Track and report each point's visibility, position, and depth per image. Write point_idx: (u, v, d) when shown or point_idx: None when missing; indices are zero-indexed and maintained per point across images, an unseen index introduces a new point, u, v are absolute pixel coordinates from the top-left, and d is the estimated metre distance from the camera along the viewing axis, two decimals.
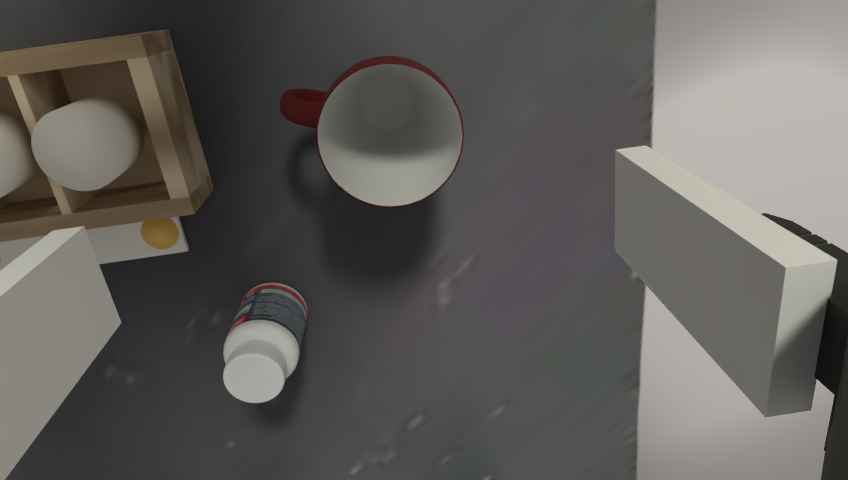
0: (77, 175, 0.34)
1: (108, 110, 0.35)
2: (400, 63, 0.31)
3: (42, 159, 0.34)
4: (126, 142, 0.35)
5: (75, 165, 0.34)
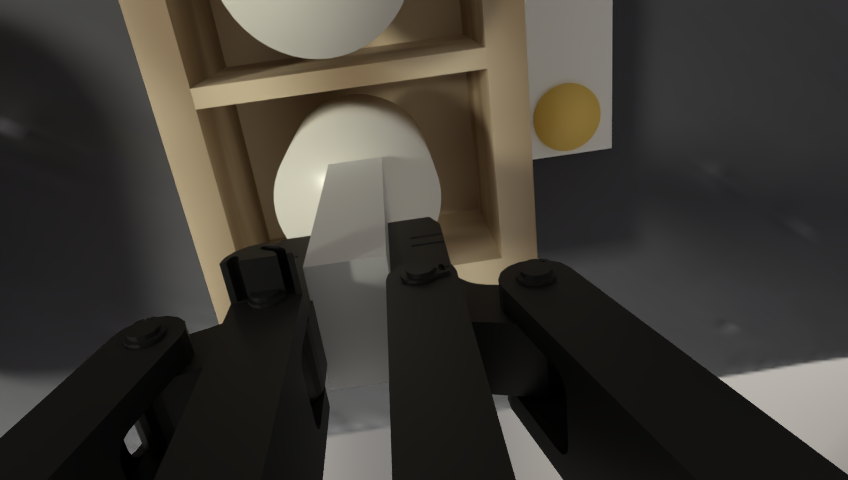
0: None
1: None
2: None
3: None
4: None
5: None
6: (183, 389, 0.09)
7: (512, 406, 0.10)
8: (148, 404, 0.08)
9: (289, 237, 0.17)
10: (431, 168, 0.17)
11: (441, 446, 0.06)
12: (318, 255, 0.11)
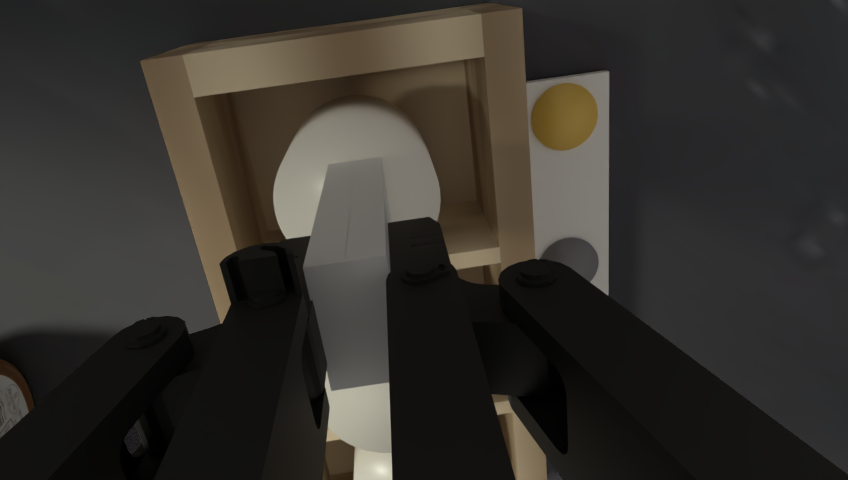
0: (407, 209, 0.17)
1: (293, 139, 0.18)
2: None
3: None
4: (347, 112, 0.17)
5: None
6: (183, 389, 0.09)
7: (512, 406, 0.10)
8: (148, 404, 0.08)
9: None
10: None
11: (441, 446, 0.06)
12: (318, 255, 0.11)
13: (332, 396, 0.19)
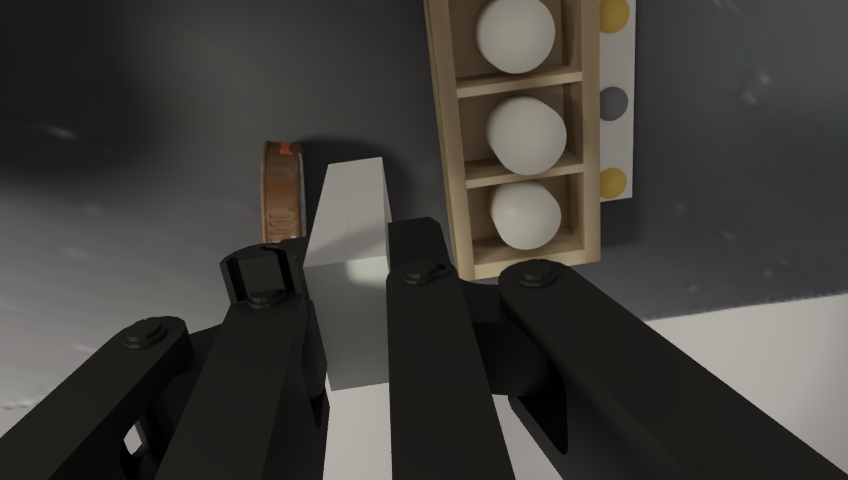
0: (540, 39, 0.39)
1: (485, 10, 0.39)
2: None
3: (523, 66, 0.39)
4: None
5: (531, 39, 0.39)
6: (183, 389, 0.09)
7: (512, 406, 0.10)
8: (148, 404, 0.08)
9: (500, 234, 0.44)
10: (558, 207, 0.43)
11: (441, 446, 0.06)
12: (318, 255, 0.11)
13: (503, 139, 0.39)
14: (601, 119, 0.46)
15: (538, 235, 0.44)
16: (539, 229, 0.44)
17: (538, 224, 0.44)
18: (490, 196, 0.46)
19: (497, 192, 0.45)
